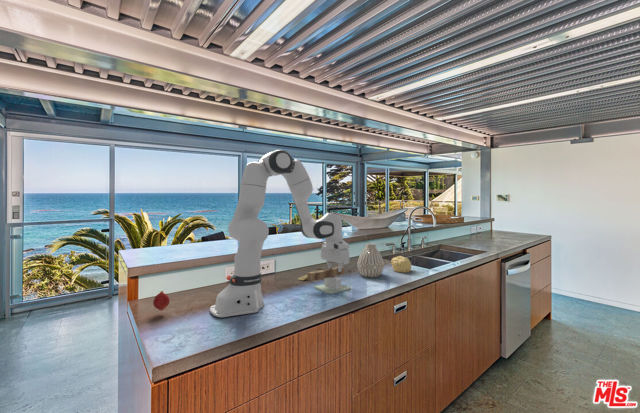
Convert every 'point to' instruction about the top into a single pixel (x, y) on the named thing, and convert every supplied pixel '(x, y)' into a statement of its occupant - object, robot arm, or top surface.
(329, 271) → the walnut bar
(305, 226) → the robot arm
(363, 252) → the vase
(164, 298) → the onion
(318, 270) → the tool
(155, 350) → the top surface
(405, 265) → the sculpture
